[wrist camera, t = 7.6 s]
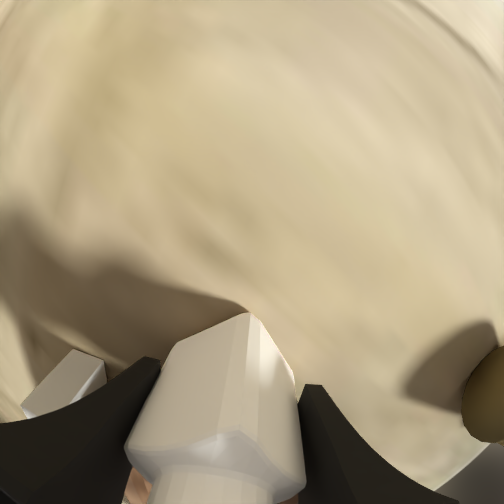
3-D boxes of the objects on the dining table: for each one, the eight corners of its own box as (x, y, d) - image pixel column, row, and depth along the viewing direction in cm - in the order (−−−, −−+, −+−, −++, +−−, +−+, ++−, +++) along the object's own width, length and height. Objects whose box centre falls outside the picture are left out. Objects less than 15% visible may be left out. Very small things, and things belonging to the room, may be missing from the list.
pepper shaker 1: (170, 339, 11) (68, 543, 2) (253, 301, 10) (226, 591, 1) (220, 400, 12) (186, 585, 2) (297, 372, 11) (323, 588, 2)
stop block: (131, 469, 14) (113, 515, 10) (109, 460, 14) (89, 504, 10) (103, 360, 11) (53, 425, 7) (73, 348, 11) (20, 404, 7)
